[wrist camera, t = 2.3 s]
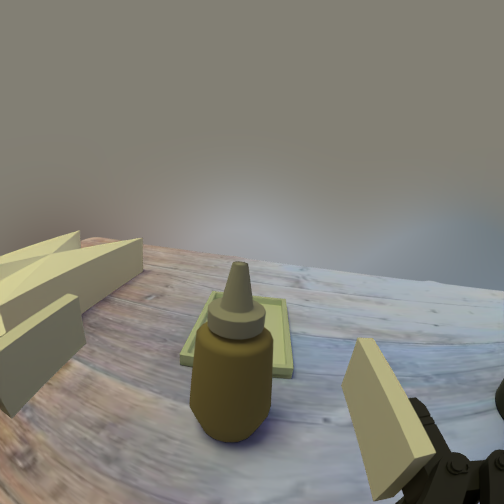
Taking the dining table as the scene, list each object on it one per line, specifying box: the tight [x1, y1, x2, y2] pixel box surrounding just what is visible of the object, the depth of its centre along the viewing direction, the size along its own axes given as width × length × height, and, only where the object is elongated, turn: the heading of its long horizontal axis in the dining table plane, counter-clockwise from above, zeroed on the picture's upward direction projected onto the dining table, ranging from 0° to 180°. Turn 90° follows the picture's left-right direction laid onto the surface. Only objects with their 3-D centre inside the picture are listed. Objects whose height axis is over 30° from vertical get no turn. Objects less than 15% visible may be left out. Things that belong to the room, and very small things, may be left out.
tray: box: [180, 291, 293, 379], centre depth 45 cm, size 23×15×2 cm, turn 176°
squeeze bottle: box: [190, 262, 274, 442], centre depth 23 cm, size 8×8×18 cm
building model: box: [0, 231, 143, 337], centre depth 46 cm, size 45×22×10 cm, turn 174°
